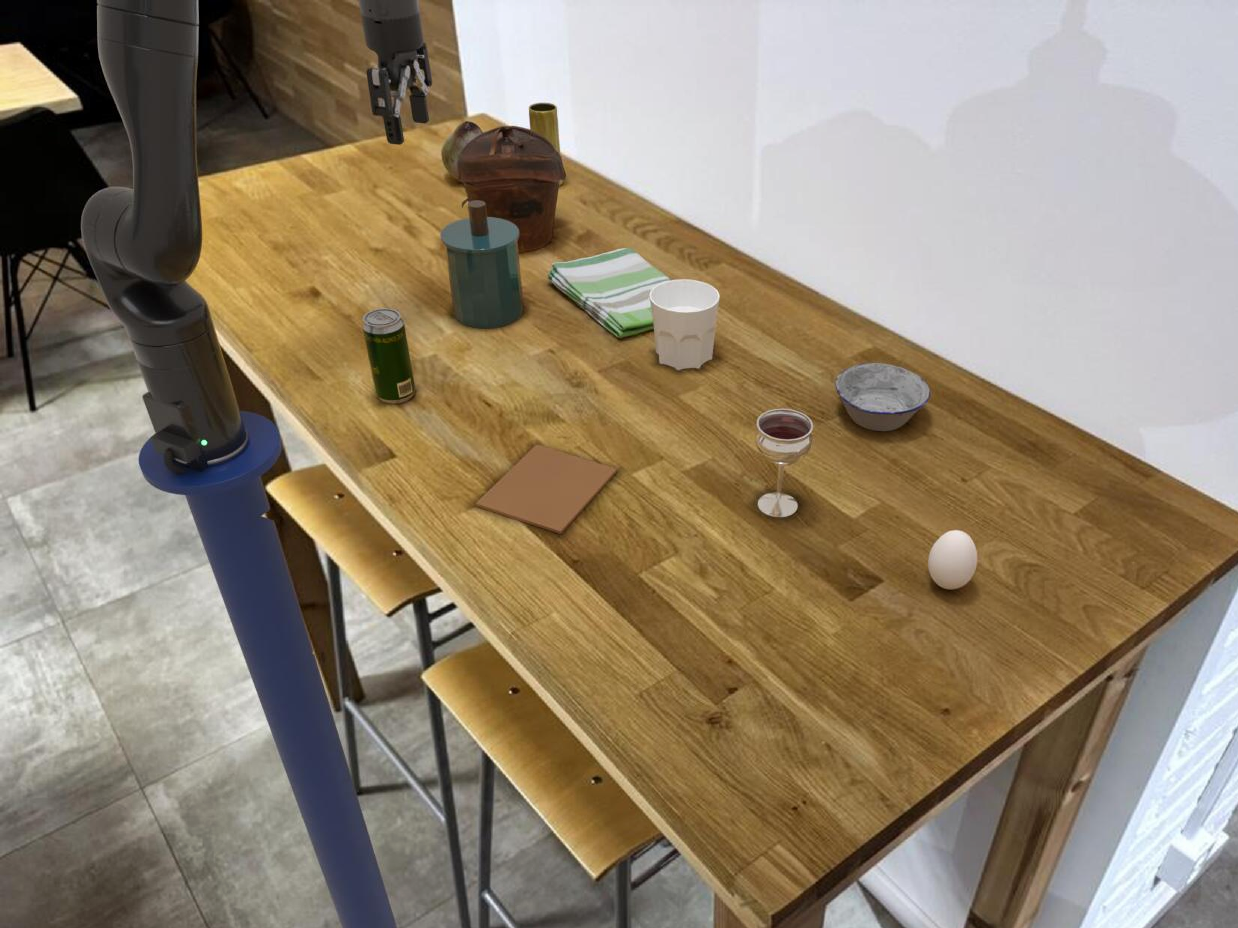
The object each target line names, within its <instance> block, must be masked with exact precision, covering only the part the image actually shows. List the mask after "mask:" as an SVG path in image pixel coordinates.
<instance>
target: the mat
mask: <svg viewBox="0 0 1238 928" xmlns="http://www.w3.org/2000/svg"><path fill="white" fill-rule="evenodd" d="M617 473H618V469H617V468H616V467H612V466H610V465H605V464H602V463H599V462H596V461H592V460H589V459H586V458H583V457H579V456H576V455H573V454H569V453H566V452H563V451H560V450H556V449H553V448H550V447H547V446H543V445H540V444H535V445H534V446H533V447H532V448H531V449H530V450H529V451H528V452H527V453H526V454H525V455H524V456H523V457H522V458H521V459H520V460H518V462H517V463H516V464H515V465H513V466H512V467H511V468H510V469H509V471H507V472H506V473H505V474H504V475H503V476H502V477H501V478H499V480H498V481H497V482H496V483H495V484H494V485H492V487H490V489H489V490H488V491H487V492H485V494H484V495H483V496H481V498H479V499H478V501H476V503H475V506H476V507H477V508H480V509H483V510H486V511H489V512H492V513H496V514H498V515H501V516H504V517H507V518H510V519H512V520H517V521H520V522H523V523H525V524H529V525H531V526H535V527H538V528H540V529H543V530H546V531H549V532H552V533H556V534H559V535H562V534H563V533H564V532H565V530H567V528H568V527H569V526H571V524H572V523H573V522H574V520H576V518H577V517H578V516H579V515H580V514H581V513H582V512H583V511H584V509H585V508H586V507H587V506H588V505H589V504H590V503H591V501H593V500H594V498H595V497H596V496H597V495H598V494H599V493H600V492H601V491H602V490H603V488H605V486H606V485H607V484H608V483H609V482H610V481H611V479H612V478H613V477H614V476H615V475H616V474H617Z"/></svg>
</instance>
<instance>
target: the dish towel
mask: <svg viewBox="0 0 1238 928" xmlns="http://www.w3.org/2000/svg"><path fill="white" fill-rule="evenodd" d="M551 267H552V268H551V269H550V272H548V273H547V280H549V281H550V282H551V284H552V285H553V286H555V288H557V289H558V290H559V291H560V292H561V293H563V294H564V295H565V296H566V297H567V298H568V299H570V300H571V301H572V302H574V303H575V304H576V305H577V306H579V308H581V309H582V310H583V311H585V312H586V313H587V314H589V316H591V318H593V319H594V320H595V321H596V322H597V323H599V324H600V325H601V326H602V327H603V328H605V329H606V330H607V331H608V332H610V333H611V334H612V335H613V336H615V337H616V338H617V339H622V338H623V339H624V338H626V337H630V336H634V335H638V334H641V333H644V332H649V331H651V330H654V324H653V319H652V312H651V304H650V291H651V290H652V289H653V288H654V287H655V286H657V285H658V284H661V283H663V282H666V281H671V280H672V279H671V278H669V277H668V276H667V275H666V274H665V273H663V272H662V271H661V270H659V269H658V268H656V267H654V266H653V265H652V264H650V262H648V261H647V260H646V259H644V257H642V256H641V255H640V254H639V253H638V252H637V251H636V250H635V249H632V248H626V247H623V248H618V249H615V250H611V251H607V252H604V253H600V254H597V255H596V254H595V255H592V256H589V257H581V258H577V259H573V260H569V261H559V262H552V263H551Z"/></svg>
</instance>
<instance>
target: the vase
mask: <svg viewBox="0 0 1238 928" xmlns="http://www.w3.org/2000/svg"><path fill="white" fill-rule="evenodd" d="M528 118H529V119H528V121H529V129H530V130H533V131H535V132H537V133H539V134H541V135H542V136H544V137H545V138H546V139H547V140H548V141H549V142H550V143H551V144H552V145H553V146H554V148H555V150H556V151H557V152H558V153H559V154H560V156H561V157H562V153H561V144H560V131H559V118H558V107H557V106H556V104H554V103H551V102H536V103H532V104H530V105H529V106H528ZM559 181H560V183H559V187H560V186H561V185H563V184H564V182H565V180H561V179H560V180H559Z"/></svg>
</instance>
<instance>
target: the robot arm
mask: <svg viewBox="0 0 1238 928" xmlns="http://www.w3.org/2000/svg"><path fill="white" fill-rule="evenodd" d="M357 1H358V6H359V12H360V13H359V14H360V18H361V24H362V30H363V35H364V36H363V37H364V41H365V45H366V47H367V48H368V49H369V50H370V51H372V52H374V53H375V54H376V55H377V67H376V68H375V67H374V68H371V67H368V68H366V80H367V87H368V93H369V99H370V100H369V101H370V106H371V112H372V116H375V117H382V119H383V124H384V130H385V131H384V132H385V137H386V141H387V143H388V144H390V145H396V146H397V145H400V146H401V145H402V144H404V142H405V135H404V131H403V124H402V118H401V106H402V102H404V101H405V100H406V94H407V92H408V94H409V95H408V96H409V105H410V109H411V110H410V111H411V118H412V121H413V122H414V123H417V124H427V123H428V122H430V115H429V109H428V102H427V101H428V100H427V96H428V93H429V90H428V87H432V86H433V78H432V71H431V66H430V60H429V59H430V58H429V54H428V53H429V52H428V47H427V44H426V42H425V41H424V33H423V28H422V21H421V19H422V18H421V12H420V5H419V0H357ZM96 3H97V5H96V20H97V21H96V22H97V23H96V25H97V27H96V29H97V30H96V31H97V34H96V36H97V50H98V59H99V62H100V66H101V67H100V68H101V69H102V73H103V76H104V78H105V79H104V80H105V81H106V84H107V87H108V89H109V92H110V94H111V96H112V99H113V101H114V104H115V106H116V108H117V111H118V113H119V115H120V117H121V120H122V122H123V125H124V129H125V131H126V134H127V137H128V140H129V144H130V150H131V158H132V159H131V160H132V188H130V187H126V186H109V187H105V188H103V189H100V190H98V191H97V192H95V193H94V194H93V195H92V196H91V197H89V199H88V200H87V201H86V203H85V205H84V208H83V210H82V214H81V217H80V218H81V220H80V231H81V238H82V243H83V246H84V250H85V253H86V256H87V258H88V261H89V264H90V266H91V268H92V271H93V273H94V275H95V277H96V280H97V282H98V285H99V287H100V290H101V292H102V293H103V296H104V299H105V300H106V303H107V305H108V307H109V309H110V310H111V312H112V314H113V315H114V316H115V318H117V319H118V321H119V322H120V323H121V325H123V328H124V330H125V332H126V335H127V337H128V339H129V343H130V345H131V348H132V351H133V353H134V356H135V359H136V362H137V365H138V367H139V370H140V373H141V377H142V379H143V382H144V385H145V387H146V390H147V391H146V392H145V393H143V394H142V397H141V398H142V401H143V405H144V406H145V409H146V411H147V414H148V417H149V420H150V422H151V425H152V429H153V431H154V434H152V435H151V436H150V437H151V440H152V443H153V446H154V448H155V451H156V452H158V453H161V454H163V455H164V463H165V466H166V467H167V468H168V469H169V470H170V471H172V472H174V473H177V474H179V475H180V474H183V473H184V471H185V470H184V468H183V467H181V466H178V465H176V464H174V463H177V464H179V465H182V466H185V467H188V468H191V469H194V470H197V471H200V472H202V471H204V470H206V469H207V468H209V467H213V466H217V465H221V464H224V463H226V462H229V461H231V460H233V459H235V458H236V457H238V456H239V455H240V454H242V453H243V452H244V451H245V450H246V448H247V447H248V444H249V437H248V433H247V430H246V429H245V426H244V423H243V420H242V416H241V413H240V411H241V410H240V406H239V404H238V400H237V397H236V394H235V391H234V387H233V384H232V381H231V377H230V373H229V370H228V367H227V364H226V361H225V358H224V354H223V351H222V348H221V344H220V340H219V338H218V335H217V331H216V327H215V324H214V320H213V317H212V315H211V311H210V308H209V305H208V302H207V301H206V299H205V298H204V296H203V295H202V294H200V292H199V291H197V290H196V289H195V288H194V287H192V286H191V285H190V284H189V283H188V282H187V280H188V279H189V278H191V275H192V274H193V273H194V272H195V270H196V268H197V266H198V264H199V261H200V258H201V254H202V248H203V220H202V219H203V217H202V207H201V197H200V196H201V195H200V185H199V184H200V183H199V171H198V157H197V156H198V155H197V77H198V64H199V35H200V34H199V33H200V32H199V30H200V29H199V27H200V26H199V25H200V20H199V19H200V18H199V17H200V16H199V14H200V13H199V0H96ZM422 71H423V72H422ZM155 433H156V434H155Z"/></svg>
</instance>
